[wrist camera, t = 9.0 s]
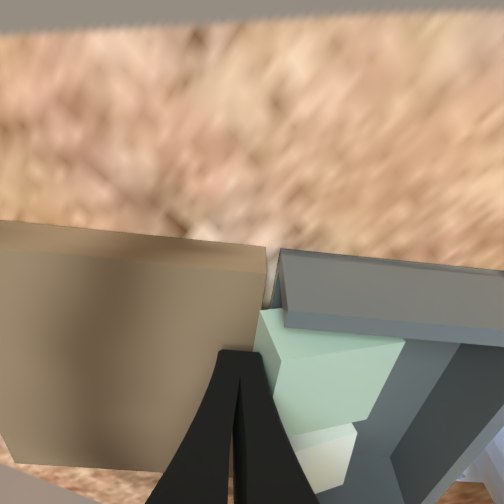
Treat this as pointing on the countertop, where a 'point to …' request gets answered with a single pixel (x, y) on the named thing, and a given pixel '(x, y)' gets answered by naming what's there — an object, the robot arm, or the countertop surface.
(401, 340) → the sage tile
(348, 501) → the tray
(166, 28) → the countertop surface
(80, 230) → the tan flat slab
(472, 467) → the robot arm
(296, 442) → the cream tile
